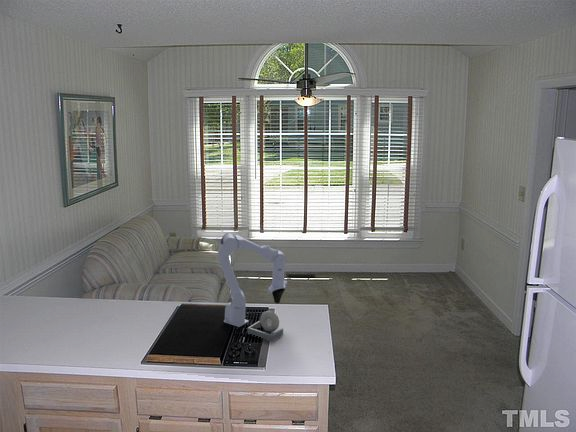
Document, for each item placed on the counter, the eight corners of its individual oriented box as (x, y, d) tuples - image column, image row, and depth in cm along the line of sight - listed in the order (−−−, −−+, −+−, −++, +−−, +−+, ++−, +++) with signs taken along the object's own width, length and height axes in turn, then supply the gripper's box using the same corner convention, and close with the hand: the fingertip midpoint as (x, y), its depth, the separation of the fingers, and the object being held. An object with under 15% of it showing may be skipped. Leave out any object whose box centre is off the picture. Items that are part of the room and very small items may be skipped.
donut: (280, 332, 237) (281, 312, 235) (276, 335, 234) (277, 315, 232) (262, 327, 242) (263, 307, 240) (258, 329, 239) (259, 309, 237)
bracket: (247, 333, 235) (247, 327, 234) (258, 326, 242) (258, 320, 242) (272, 342, 228) (272, 336, 227) (283, 334, 236) (283, 328, 235)
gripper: (277, 282, 236) (275, 309, 240) (293, 274, 248) (291, 300, 252) (264, 278, 240) (263, 305, 243) (281, 270, 252) (279, 296, 255)
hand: (277, 302), depth 248 cm, fingers closed
